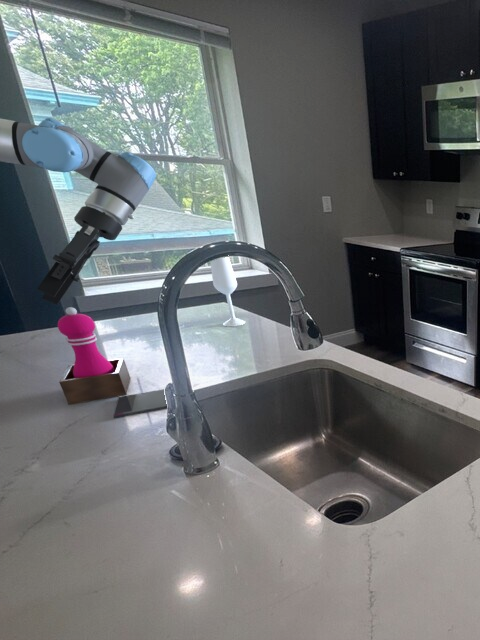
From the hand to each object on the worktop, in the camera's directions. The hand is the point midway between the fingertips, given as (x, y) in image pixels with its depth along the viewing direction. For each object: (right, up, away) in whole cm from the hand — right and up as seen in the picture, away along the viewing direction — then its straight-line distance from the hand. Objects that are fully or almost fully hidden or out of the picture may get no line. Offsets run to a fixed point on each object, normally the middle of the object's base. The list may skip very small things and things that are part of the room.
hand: (47, 297), depth 98 cm
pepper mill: (+2, -20, +11) cm, 23 cm away
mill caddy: (+2, -20, +11) cm, 23 cm away
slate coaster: (+16, -23, +6) cm, 28 cm away
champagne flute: (+5, +2, +58) cm, 58 cm away
